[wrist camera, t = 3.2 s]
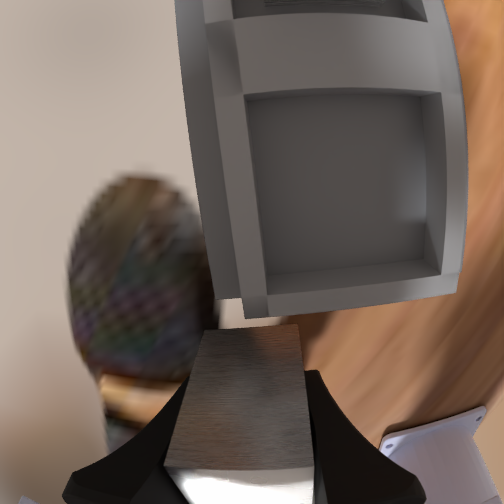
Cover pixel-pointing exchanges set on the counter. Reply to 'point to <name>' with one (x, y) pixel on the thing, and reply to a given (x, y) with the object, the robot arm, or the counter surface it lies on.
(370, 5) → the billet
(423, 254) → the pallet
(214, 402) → the billet
